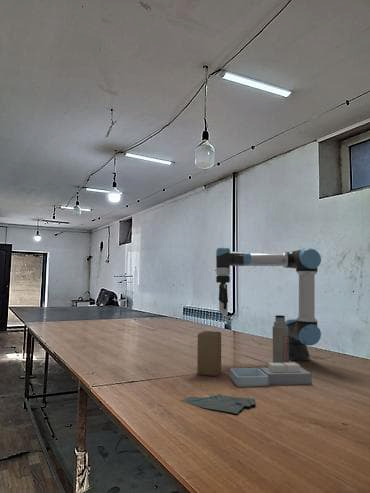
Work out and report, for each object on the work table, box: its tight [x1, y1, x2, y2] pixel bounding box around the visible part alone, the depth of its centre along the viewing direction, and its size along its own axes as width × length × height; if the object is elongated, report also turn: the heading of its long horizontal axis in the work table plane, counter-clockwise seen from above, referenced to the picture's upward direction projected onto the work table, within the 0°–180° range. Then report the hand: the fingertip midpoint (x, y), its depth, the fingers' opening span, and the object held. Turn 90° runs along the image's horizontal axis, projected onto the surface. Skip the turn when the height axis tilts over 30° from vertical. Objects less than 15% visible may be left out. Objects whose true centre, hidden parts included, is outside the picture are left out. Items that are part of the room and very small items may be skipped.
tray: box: [228, 367, 270, 388], centre depth 168 cm, size 14×16×4 cm
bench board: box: [259, 366, 313, 386], centre depth 170 cm, size 20×12×4 cm, turn 96°
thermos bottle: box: [272, 314, 290, 364], centre depth 190 cm, size 8×8×28 cm
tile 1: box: [267, 362, 285, 373], centre depth 170 cm, size 6×6×3 cm
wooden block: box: [196, 330, 222, 377], centre depth 182 cm, size 10×10×20 cm
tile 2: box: [283, 361, 301, 372], centre depth 170 cm, size 6×6×3 cm
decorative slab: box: [180, 393, 257, 416], centre depth 136 cm, size 26×24×2 cm
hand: (223, 314), depth 202 cm, fingers open, 13 cm apart
